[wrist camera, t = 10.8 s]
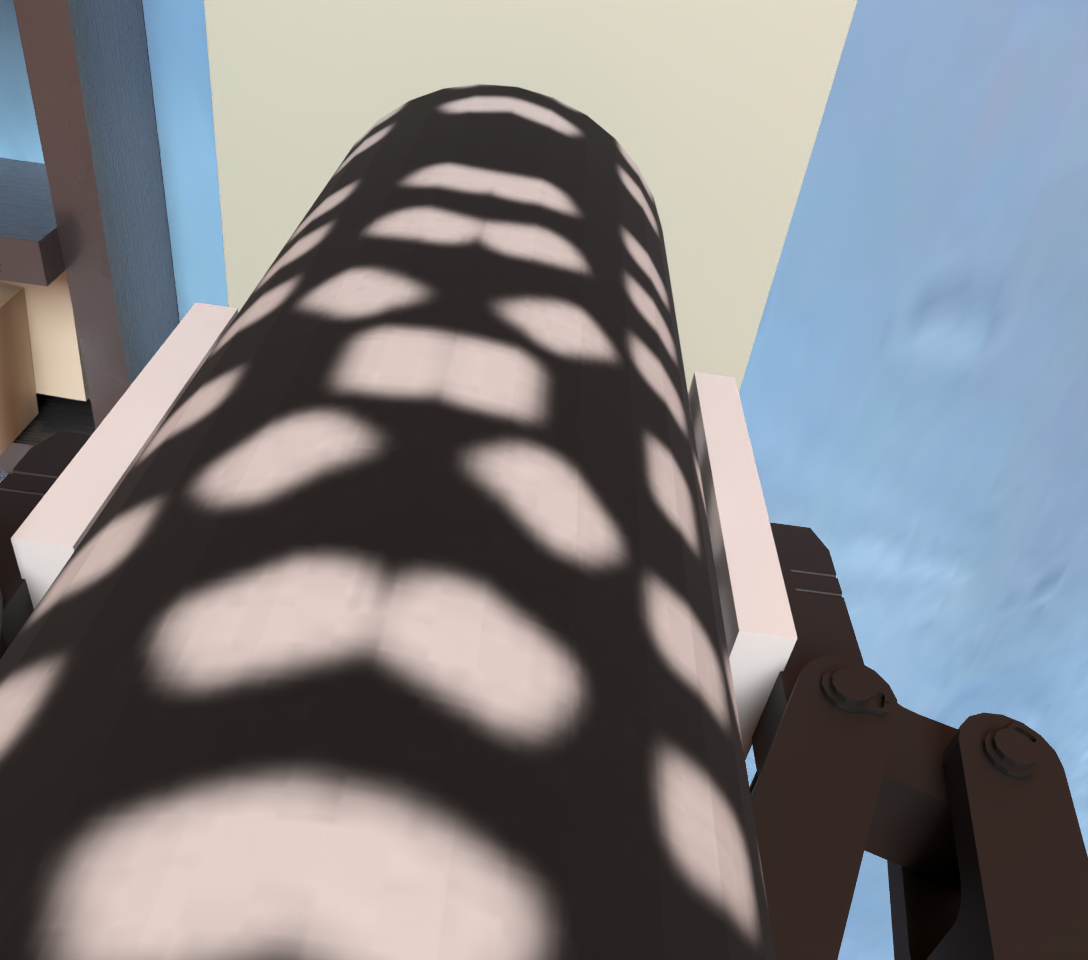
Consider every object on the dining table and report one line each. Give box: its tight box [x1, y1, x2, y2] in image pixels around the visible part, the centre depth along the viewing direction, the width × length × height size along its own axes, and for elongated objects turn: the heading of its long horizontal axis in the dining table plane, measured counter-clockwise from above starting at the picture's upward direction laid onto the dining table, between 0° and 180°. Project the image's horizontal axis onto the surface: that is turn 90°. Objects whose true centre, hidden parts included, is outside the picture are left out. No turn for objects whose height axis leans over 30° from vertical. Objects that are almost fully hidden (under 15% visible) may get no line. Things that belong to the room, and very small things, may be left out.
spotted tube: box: [0, 84, 776, 960], centre depth 14 cm, size 8×8×20 cm
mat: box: [204, 0, 857, 394], centre depth 26 cm, size 16×16×1 cm
